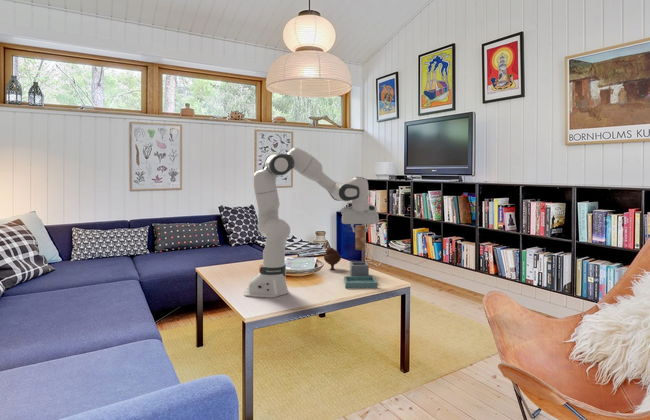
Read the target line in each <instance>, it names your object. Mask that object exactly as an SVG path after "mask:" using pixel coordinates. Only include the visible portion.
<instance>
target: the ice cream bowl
mask: <svg viewBox="0 0 650 420" xmlns="http://www.w3.org/2000/svg"><path fill="white" fill-rule="evenodd" d="M325 254H326V255H324V256H323V259H324V261H325V262H326V263H327V264H328V265H330V268H329V271H336V268H335V265H337V264H338V263H339V262H341V259H342V256H341V255H340V252H339V251H338V250H336V249H334V248H333V247H328V248H326V250H325Z"/></svg>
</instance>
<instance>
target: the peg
mask: <svg viewBox="0 0 650 420" xmlns="http://www.w3.org/2000/svg"><path fill="white" fill-rule="evenodd" d="M355 229H356V232H355V251H356V250H357V251H364V250H366V247H365V246H366V243H365V242H366V241H365V240H366V238H365V237H366V236H365V235H366V234H365V233H366V232H365V229H366V225H365V224H355Z"/></svg>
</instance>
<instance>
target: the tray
mask: <svg viewBox="0 0 650 420" xmlns="http://www.w3.org/2000/svg"><path fill="white" fill-rule="evenodd" d="M343 282H344V286H345V289H378V281H377V280H376V278H375V275H369V276H350V275H348V276H347V275H345V276H344V275H343Z"/></svg>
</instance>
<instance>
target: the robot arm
mask: <svg viewBox="0 0 650 420" xmlns="http://www.w3.org/2000/svg"><path fill="white" fill-rule="evenodd" d="M291 170H294V171H296V172H297V173H298V174H300V175H301V176H302V177H305V178H307V179H308V180H311V181H313V182H315V183H317V184H318V185H319V186H321V187H322V188H324V189H325V190H326V191H327V192H328V193H329V195H330V197H331V198H332V199H333V200H334V201H338V202H350V201H351V206H344V207H342V208H341V210H340V214H341V215H342V216H341V223H342V224H343V225H350V227H351V228H352V233H356V228H355V227H354V225H366V226H365V233H368V229H369V228H370V225H376V224H377V225H378V224H379V222H380V219H379V212H378V211H377V210H378V209H377V208H378V207H377V206H376V205H373V204H371V203H369V197H368V196H369V182H368V179H367V178H364V177H362V176H354V177H353V178H352V179H350V180H348V181H346V182H344V183H343V182H337V181H334V180H333V179H332V178H330V177H329V176H328V175H326V174H325V172H324V171H323V164H322V163H321V162H320V161H319V160H318V159H317V158H315V156H313V155H312V154H311V153H309V152H307V151H305V150H303V149H301V148H299V147H293V148H291V149H289V151H288V152H287V153H280V152H274V153H271V154H269V155H268V156H267V157H266V158H265V161H264V164H263V167H262V169H259V170H257V171H255V173H254V175H253V187H254V193H255V195H254V196H255V199H256V204H257V210H258V211H257V214H258V215H257V216H258V222H257V230H258V232H259V233H260V235H261V236H263V237H265V246H264V249H263V250H262V263H263V264H260V265H259V270H258V271H259V273H257V274H256V275H255V276H254V277H253V278H252V279H251V280H250V281H249V283H248V288H246V289H245V290H244V292H243V295H244V297H252V298H254V297H255V298H276V297H279V296H280V297H281V296H283V295H286V294H288V293H289V289H288V285H287V280H286V278H287V277H286V275H287V267H286V261H285V260H286V259H285V258H286V256H285V255H286V253H285V252H286V245H287V240H288V238H289V236H290V235H291V226H290V225H289V224H288V222H286V221H285V220H284V219H282V218H279V208H280V206H281V205H280V204H281V203H280V199H279V194H278V188H277V184H276V182H277V181H276V180H277V177H278V176H284V175H286V174H288V173H289V172H290V171H291Z"/></svg>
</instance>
